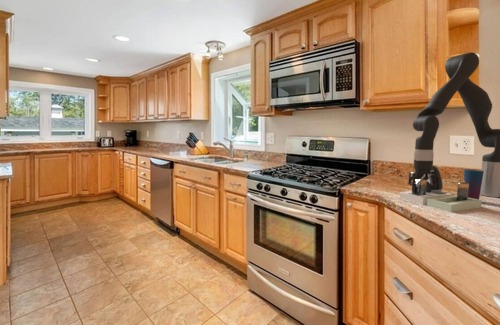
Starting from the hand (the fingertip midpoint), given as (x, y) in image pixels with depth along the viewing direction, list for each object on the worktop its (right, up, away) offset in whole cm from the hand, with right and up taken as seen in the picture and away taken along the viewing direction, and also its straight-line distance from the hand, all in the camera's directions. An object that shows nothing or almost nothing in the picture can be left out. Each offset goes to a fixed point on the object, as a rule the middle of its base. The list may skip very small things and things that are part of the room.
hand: (421, 193), depth 124 cm
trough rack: (+7, -5, -11) cm, 14 cm away
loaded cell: (+11, -4, -10) cm, 15 cm away
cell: (0, -3, 0) cm, 3 cm away
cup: (+21, -4, -3) cm, 21 cm away
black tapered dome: (+13, -2, +13) cm, 19 cm away
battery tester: (+2, -4, +1) cm, 4 cm away
